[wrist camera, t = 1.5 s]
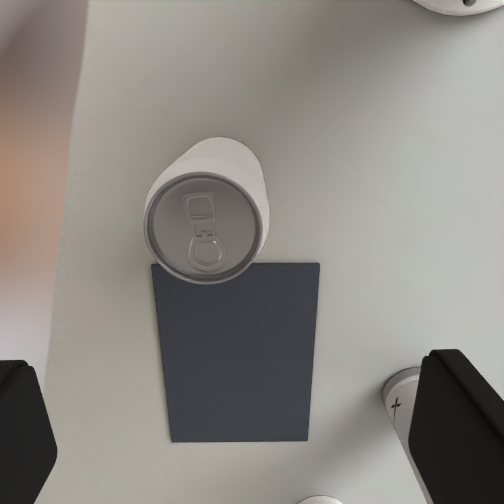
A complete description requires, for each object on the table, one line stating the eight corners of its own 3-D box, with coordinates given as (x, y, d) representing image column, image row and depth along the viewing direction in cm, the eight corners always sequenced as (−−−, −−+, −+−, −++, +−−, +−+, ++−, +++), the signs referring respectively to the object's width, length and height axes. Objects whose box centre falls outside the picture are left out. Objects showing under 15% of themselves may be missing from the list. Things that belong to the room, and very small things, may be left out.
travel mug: (366, 388, 37) (486, 685, 18) (427, 354, 35) (626, 640, 17) (397, 426, 39) (534, 729, 20) (456, 396, 37) (663, 693, 19)
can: (186, 224, 30) (149, 298, 19) (171, 140, 28) (119, 169, 17) (266, 216, 30) (276, 286, 19) (259, 131, 27) (266, 155, 16)
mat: (152, 263, 31) (151, 265, 31) (319, 262, 31) (320, 264, 31) (172, 439, 39) (171, 442, 39) (307, 438, 39) (307, 441, 39)
